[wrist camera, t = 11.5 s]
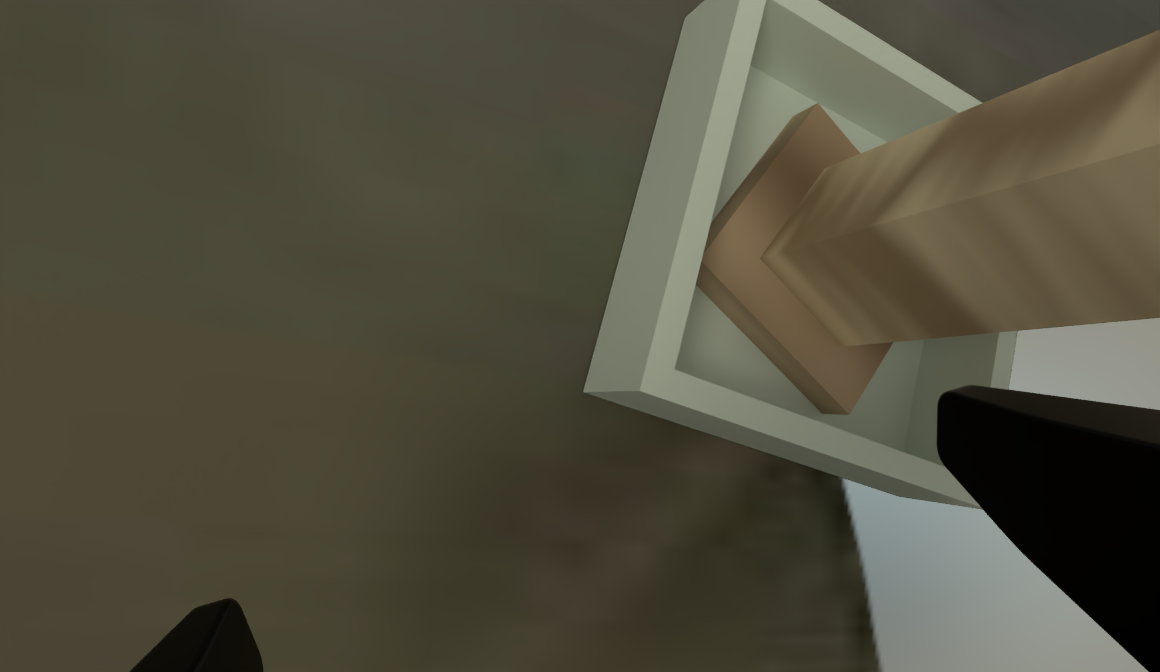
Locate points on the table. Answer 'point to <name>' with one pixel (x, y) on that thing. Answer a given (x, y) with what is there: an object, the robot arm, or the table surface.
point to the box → (698, 193)
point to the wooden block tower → (947, 226)
